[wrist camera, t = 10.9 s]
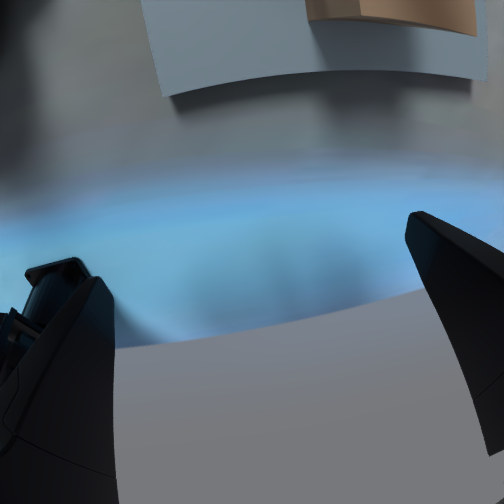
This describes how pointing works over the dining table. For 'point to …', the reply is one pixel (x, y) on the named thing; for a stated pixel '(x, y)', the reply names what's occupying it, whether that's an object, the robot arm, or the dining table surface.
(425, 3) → the walnut cube
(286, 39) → the slate board
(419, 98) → the dining table surface
